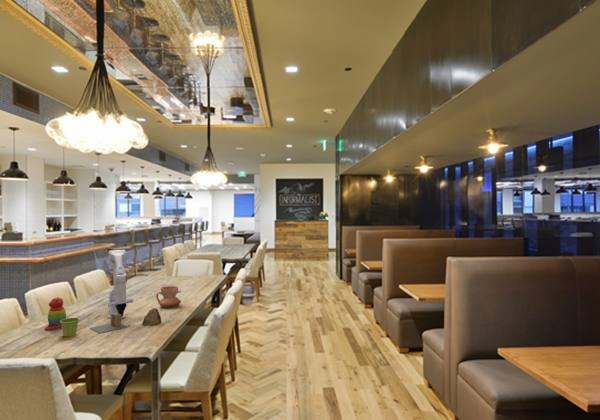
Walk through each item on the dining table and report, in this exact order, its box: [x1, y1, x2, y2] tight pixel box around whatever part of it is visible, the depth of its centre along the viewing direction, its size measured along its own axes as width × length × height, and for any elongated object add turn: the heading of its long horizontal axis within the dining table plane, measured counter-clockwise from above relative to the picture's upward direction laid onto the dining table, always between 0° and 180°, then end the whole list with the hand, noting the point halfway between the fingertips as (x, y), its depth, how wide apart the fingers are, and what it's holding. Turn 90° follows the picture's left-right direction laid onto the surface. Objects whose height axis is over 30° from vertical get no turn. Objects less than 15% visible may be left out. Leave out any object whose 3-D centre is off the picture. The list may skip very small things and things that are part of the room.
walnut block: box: [110, 313, 122, 327], centre depth 225 cm, size 6×4×7 cm, turn 50°
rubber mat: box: [89, 322, 129, 334], centre depth 222 cm, size 14×16×1 cm
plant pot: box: [60, 317, 81, 338], centre depth 208 cm, size 9×9×9 cm
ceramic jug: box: [155, 285, 182, 309], centre depth 272 cm, size 18×14×14 cm
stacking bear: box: [44, 296, 67, 332], centre depth 223 cm, size 11×10×18 cm
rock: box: [142, 307, 162, 326], centre depth 231 cm, size 11×9×10 cm
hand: (120, 316), depth 227 cm, fingers closed
